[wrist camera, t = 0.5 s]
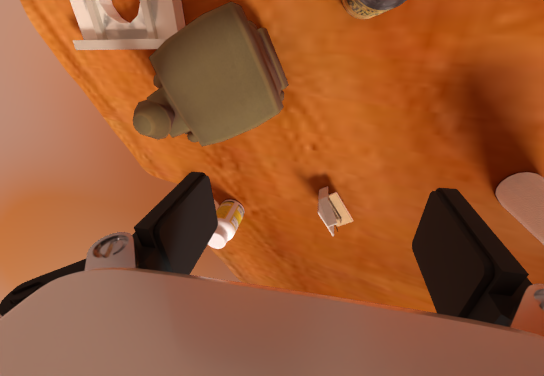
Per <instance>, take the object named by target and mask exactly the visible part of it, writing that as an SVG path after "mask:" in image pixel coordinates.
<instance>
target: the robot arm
mask: <svg viewBox="0 0 544 376" xmlns="http://www.w3.org/2000/svg"><path fill="white" fill-rule="evenodd" d="M217 226H218V219H217V214H216V209H215V204H214V199H213V194H212V189H211V184H210V179H209V177H208V176H206V175H205V173H202V172H191V173H190V174H188V175H187V176H186V177H185V178H184V179H183V180H182V181H181V182H180V183H179V184H178V185H177V186H176V187H175V188H174V189H173V190H172V191H171V192H170V193H169V194H168V195H167V196H166V197H165V198H164V199H163V200H162V201H161V202H160V203H159V204H158V205H156V206H155V207H154V208H153V209H152V210H151V211H150V212H149V213H148V214H147V215H146V216H145V217H144V218H143V219H142V220H141V221H140V222H139V223H138V224H137V225H136V226H135V227H134V229H135V231H136V232H135V233H134V234H133V235H131V234H130V233H126V232H118V233H114V234H110V235H108V236H105V237H103V238H101V239H100V240H98V241H97V242H96V243H94V244H93V245H92V247H90V249H89V251H88V253H87V258H86V259H84V260H81V261H79V262H76V263H74V264H71V265H68V266H66V267H63V268H61V269H58V270H55V271H53V272H50V273H47V274H45V275H42V276H39V277H37V278H35V279H32V280H30V281H27V282H24V283H22V284H21V285H19V286H17V287H16V288H15V289H14V290H13V291H11V292H10V293H9V294H8V295H7V296H6V297H5V298H4V299H3V300H2V302H1V304H0V376H544V284H534V285H533V284H532V283H531V282H530V281H529V280H528V278H527V276H528V275H529V274H528V273H527V272H526V271H525V269H524V268H523V267H522V266H521V265H520V264H519V262H518V261H517V260H516V259H515V258H514V256H513V255H512V254H511V253H510V252H509V250H508V249H507V248H506V247H505V246H504V244H503V243H502V242H501V241H500V240H499V239H498V237H497V236H496V235H495V234H494V233H493V231H492V230H491V229H490V228H489V227H488V225H487V224H486V223H485V222H484V221H483V220H482V218H481V217H480V216H479V215H478V214H477V212H476V211H475V210H474V209H473V208H472V206H471V205H470V204H469V203H468V202H467V201H466V199H465V198H464V197H463V196H462V195H461V193H460V192H459V191H458V190H457V189H449V188H438V189H437V190H436V191H432V192H431V193H430V195H429V198H428V201H427V204H426V206H425V209H424V212H423V215H422V217H421V220H420V223H419V226H418V228H417V231H416V234H415V236H414V239H413V242H412V249H413V252H414V255H415V257H416V260H417V263H418V265H419V268H420V270H421V273H422V275H423V278H424V280H425V283H426V286H427V288H428V291H429V293H430V296H431V298H432V301H433V303H434V306H435V309H436V311H437V313H432V312H426V311H420V310H414V309H408V308H402V307H396V306H389V305H383V304H377V303H370V302H364V301H358V300H352V299H345V298H339V297H333V296H326V295H320V294H313V293H307V292H300V291H294V290H287V289H281V288H274V287H268V286H261V285H255V284H248V283H241V282H234V281H228V280H220V279H214V278H207V277H201V276H194V275H190V273H191V271H192V269H193V268H194V266H195V264H196V263H197V261H198V259H199V258H200V256H201V254H202V252H203V250H204V249H205V248H206V246H207V244H208V242H209V241H210V239H211V237H212V236H213V234H214V232H215V231H216V229H217Z"/></svg>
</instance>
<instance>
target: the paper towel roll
mask: <svg viewBox="0 0 544 376" xmlns="http://www.w3.org/2000/svg"><path fill="white" fill-rule="evenodd" d="M495 195H496V197H497V199H498V201H499V202H500V203H501V205H502V206H503V207H504V208H505V209H506V210H507V211H508V212H510V213H511V214H512V215H513V216H514V217H515V218H516V219H517V220H518V221H519V222H520V223H521V224H522V225H523V226H524V227H525V228H526V229H528V230H529V231H530V232H531V233H532V234H533V235H534V236H535V237H536V238H537V239H538V240H539V241H540V242H541V243H542V244H543V245H544V178H543V177H542V176H540V175H538V174H536V173H530V172H523V173H517V174H514V175H512V176H509V177H507V178H506V179H505V180H503V181H502V182H501V183H500V184H499V185H498V187H497V188H496V194H495Z"/></svg>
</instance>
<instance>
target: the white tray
mask: <svg viewBox="0 0 544 376" xmlns="http://www.w3.org/2000/svg"><path fill="white" fill-rule="evenodd" d="M70 2H71V5H72V8H73V10H74V13H75V16H76V19H77V22H78V25H79V27H80V30H81V33H82V36H83V39H84V40H73V43H74V46H75V48H76V50H115V49H158V48H159V47H160V46H161V45H162V44H163V42H164V41H165V40H167V39H168V38H169V37H171V36H172V35H174V34H175V33H177V32H178V31H179V30H181V29H182V28H184V27H185V20H184V14H183V8H182V1H181V0H140V6H139V12H138V15H137V16H136V18H135V19H134V20H133V21H132V22H131V23H129V22H128V21H126V20H124V19H123V18H121V16H120V15H119V13H118V12H117V11H116V9H115V8H114V6H113V4H112V1H111V0H70Z"/></svg>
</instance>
